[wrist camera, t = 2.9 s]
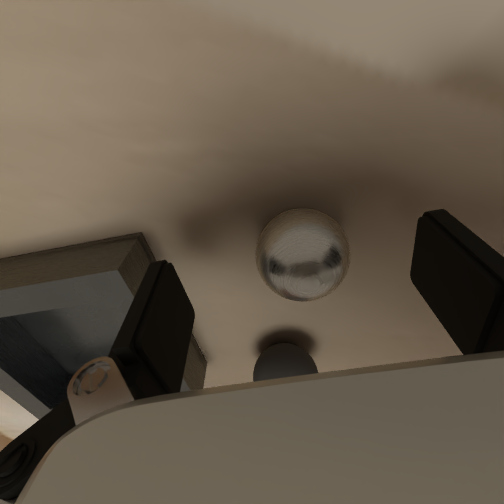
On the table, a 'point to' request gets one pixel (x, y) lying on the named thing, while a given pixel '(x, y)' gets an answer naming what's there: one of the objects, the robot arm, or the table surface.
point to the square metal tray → (70, 316)
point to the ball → (283, 362)
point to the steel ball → (302, 254)
